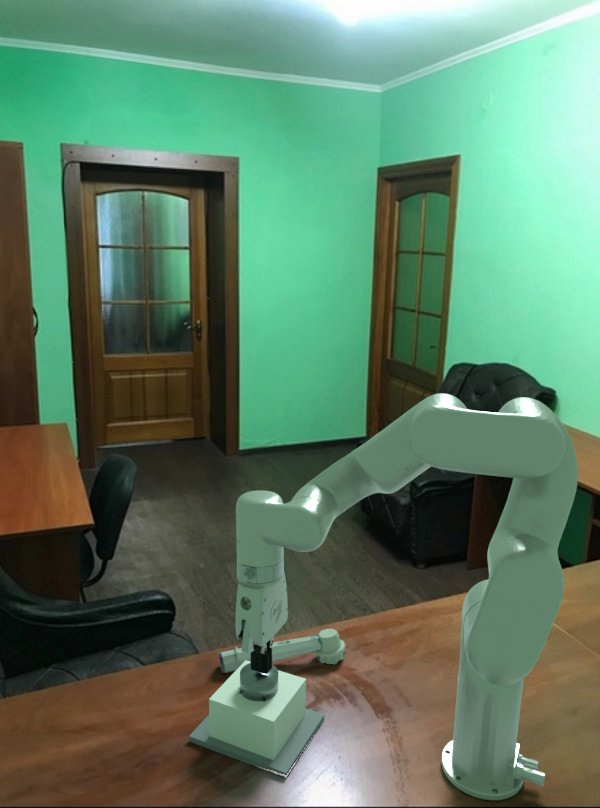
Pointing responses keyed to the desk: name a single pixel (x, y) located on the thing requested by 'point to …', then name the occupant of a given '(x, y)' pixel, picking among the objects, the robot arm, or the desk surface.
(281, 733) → the hitch block
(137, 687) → the desk surface
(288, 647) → the white flashlight
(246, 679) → the steel pin
